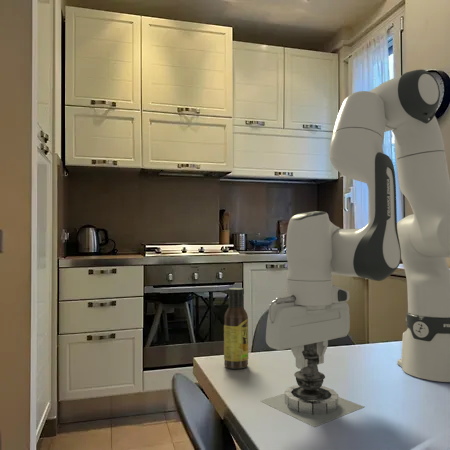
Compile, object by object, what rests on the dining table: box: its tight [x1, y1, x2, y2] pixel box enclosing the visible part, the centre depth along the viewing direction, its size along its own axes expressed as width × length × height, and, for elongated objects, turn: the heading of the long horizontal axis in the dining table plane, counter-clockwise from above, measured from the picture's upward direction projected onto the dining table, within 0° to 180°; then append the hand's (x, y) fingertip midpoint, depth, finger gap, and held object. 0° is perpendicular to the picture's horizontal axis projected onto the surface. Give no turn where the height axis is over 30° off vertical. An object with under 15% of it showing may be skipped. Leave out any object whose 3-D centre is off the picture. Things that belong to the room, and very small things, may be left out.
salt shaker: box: [293, 343, 326, 399], centre depth 79 cm, size 6×6×12 cm
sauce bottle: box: [223, 287, 249, 370], centre depth 105 cm, size 6×6×20 cm
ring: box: [284, 384, 339, 415], centre depth 79 cm, size 10×10×2 cm
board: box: [260, 392, 365, 428], centre depth 79 cm, size 14×14×1 cm
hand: (309, 365), depth 79 cm, fingers closed on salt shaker, 3 cm apart
